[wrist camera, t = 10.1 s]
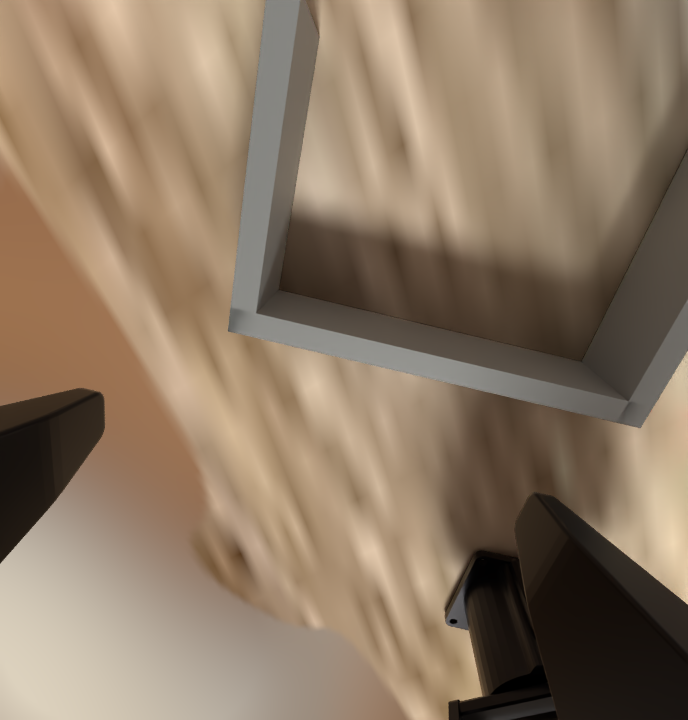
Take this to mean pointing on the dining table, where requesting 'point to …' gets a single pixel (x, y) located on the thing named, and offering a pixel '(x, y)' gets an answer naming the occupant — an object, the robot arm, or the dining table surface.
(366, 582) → the dining table surface
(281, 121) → the open-fronted box
